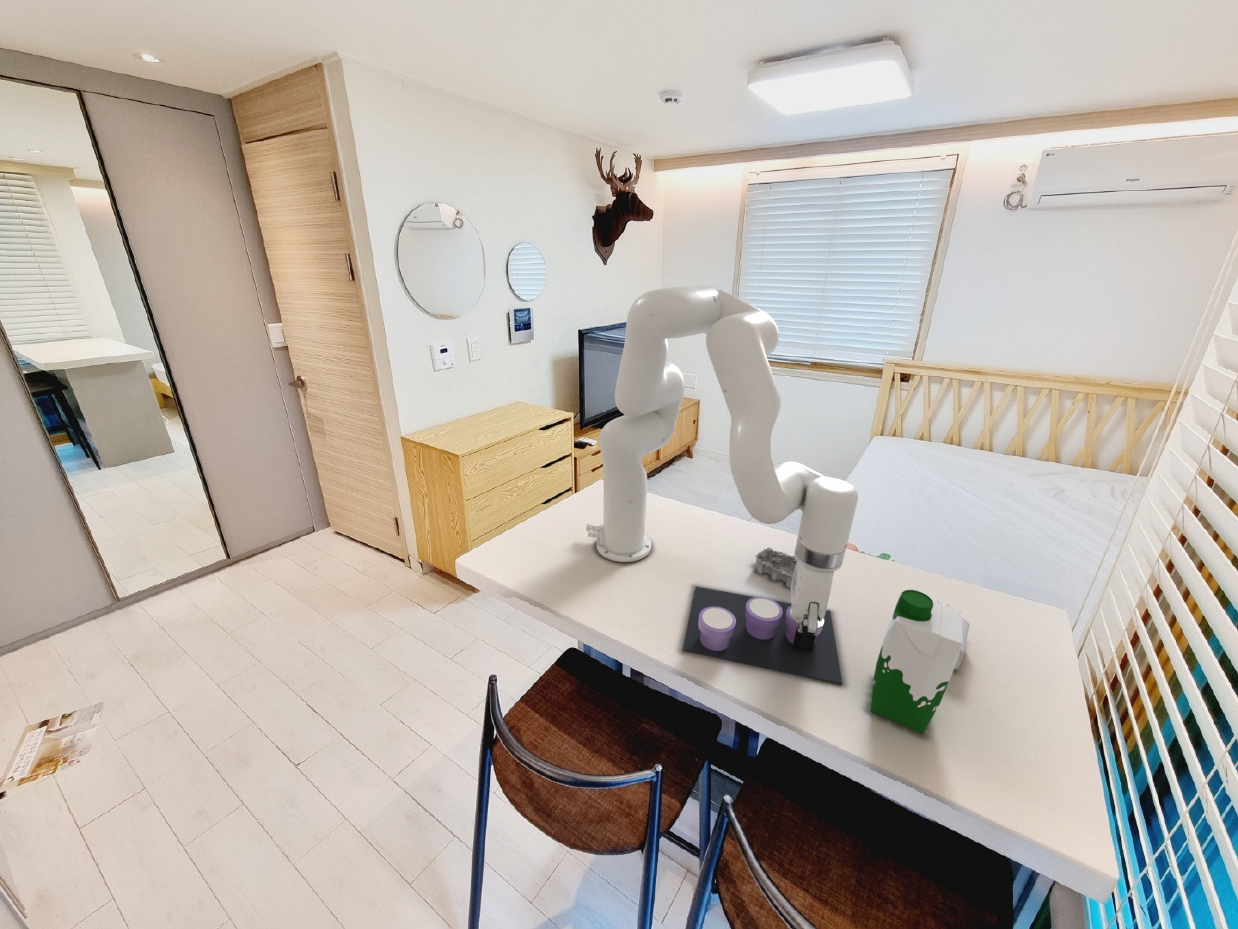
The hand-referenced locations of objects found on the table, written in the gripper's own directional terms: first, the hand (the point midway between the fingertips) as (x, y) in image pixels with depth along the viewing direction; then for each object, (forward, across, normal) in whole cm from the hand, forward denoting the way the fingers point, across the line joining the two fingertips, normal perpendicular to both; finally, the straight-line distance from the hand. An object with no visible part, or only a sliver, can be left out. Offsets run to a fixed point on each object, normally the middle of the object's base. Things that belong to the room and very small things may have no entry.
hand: (801, 633), depth 90 cm
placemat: (+1, 0, -7) cm, 7 cm away
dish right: (+1, 0, 0) cm, 1 cm away
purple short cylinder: (+1, +5, -15) cm, 16 cm away
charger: (+1, -8, +24) cm, 25 cm away
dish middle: (+1, 0, -7) cm, 7 cm away
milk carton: (+1, +11, +14) cm, 18 cm away
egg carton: (+1, -19, -3) cm, 19 cm away
